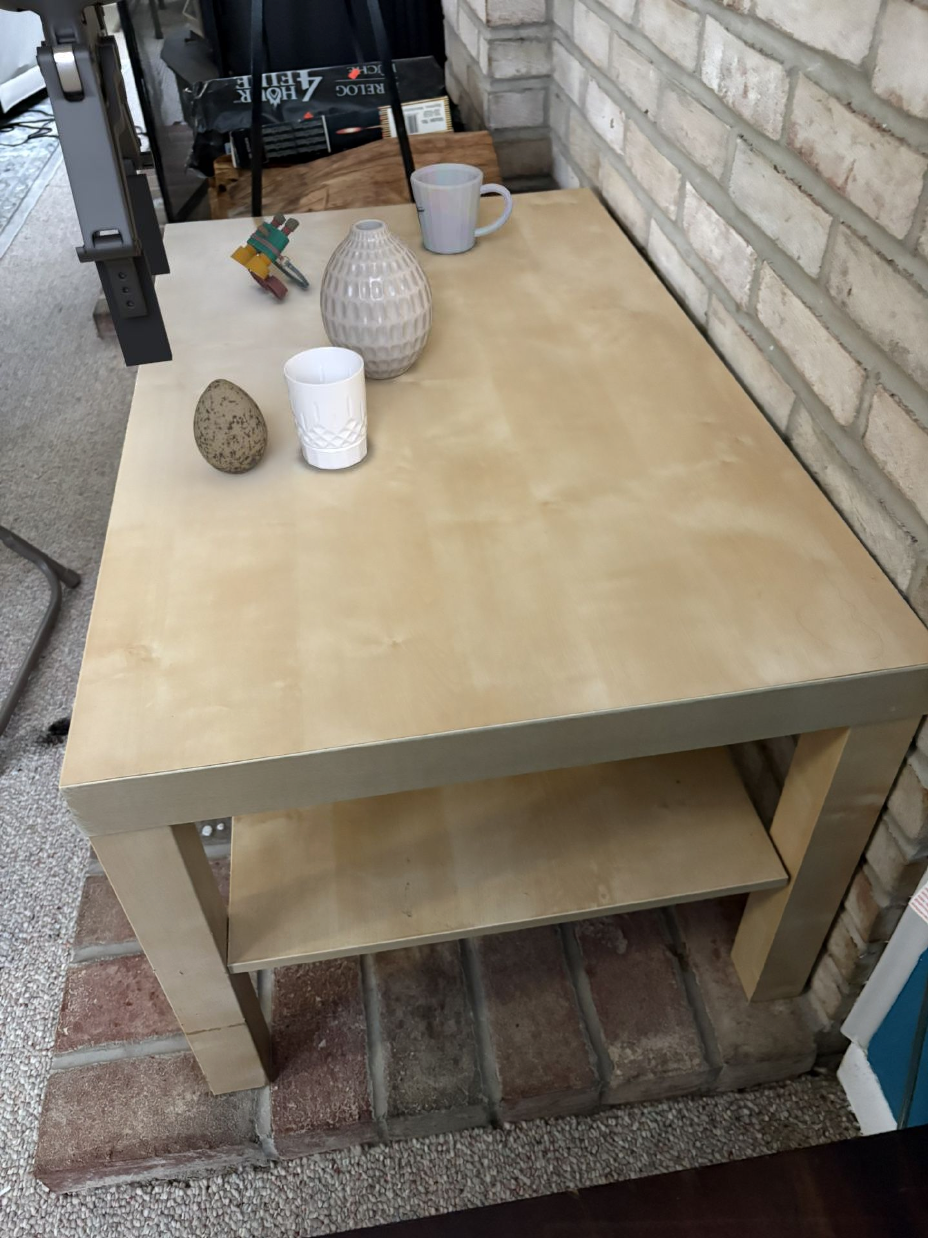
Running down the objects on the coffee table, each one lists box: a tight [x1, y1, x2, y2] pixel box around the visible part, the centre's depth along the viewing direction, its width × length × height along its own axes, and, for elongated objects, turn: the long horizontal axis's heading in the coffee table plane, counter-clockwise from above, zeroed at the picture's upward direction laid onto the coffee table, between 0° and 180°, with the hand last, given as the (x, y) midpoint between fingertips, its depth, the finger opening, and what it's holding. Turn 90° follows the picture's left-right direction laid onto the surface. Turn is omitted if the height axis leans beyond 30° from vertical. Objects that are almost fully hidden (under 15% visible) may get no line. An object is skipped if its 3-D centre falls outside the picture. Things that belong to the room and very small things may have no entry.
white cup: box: [282, 346, 368, 470], centre depth 93 cm, size 8×8×10 cm
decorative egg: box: [192, 378, 268, 475], centre depth 92 cm, size 7×7×10 cm
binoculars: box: [229, 210, 310, 301], centre depth 124 cm, size 9×9×10 cm
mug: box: [409, 162, 515, 255], centre depth 134 cm, size 10×15×10 cm
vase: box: [319, 218, 434, 380], centre depth 105 cm, size 13×13×17 cm
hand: (150, 314), depth 61 cm, fingers open, 13 cm apart
